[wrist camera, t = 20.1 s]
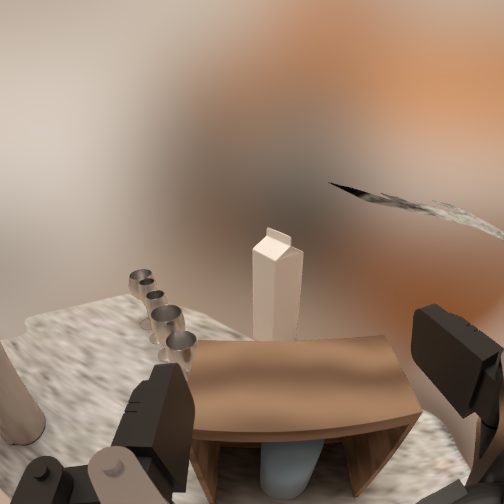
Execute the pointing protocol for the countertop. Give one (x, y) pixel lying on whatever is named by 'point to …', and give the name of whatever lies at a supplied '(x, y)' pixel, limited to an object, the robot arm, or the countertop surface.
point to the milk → (276, 288)
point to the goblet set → (164, 322)
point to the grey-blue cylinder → (288, 467)
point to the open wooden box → (300, 401)
